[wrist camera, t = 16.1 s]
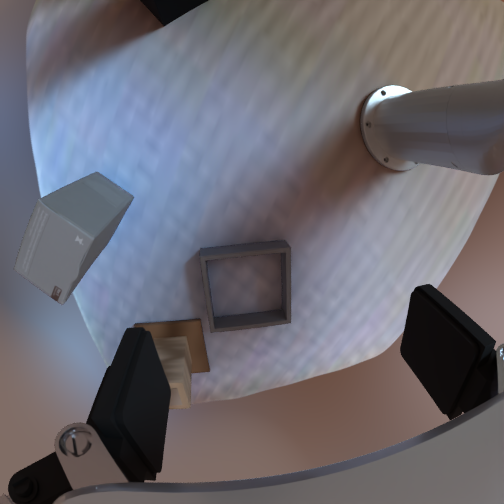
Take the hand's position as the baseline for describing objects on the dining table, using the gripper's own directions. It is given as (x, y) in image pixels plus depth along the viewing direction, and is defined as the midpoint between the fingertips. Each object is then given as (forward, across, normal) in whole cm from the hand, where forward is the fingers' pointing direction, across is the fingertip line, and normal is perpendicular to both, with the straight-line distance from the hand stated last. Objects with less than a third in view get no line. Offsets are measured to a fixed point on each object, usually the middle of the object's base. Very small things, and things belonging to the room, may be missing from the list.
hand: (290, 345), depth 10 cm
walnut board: (+29, +13, +22) cm, 38 cm away
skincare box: (+29, +18, 0) cm, 34 cm away
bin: (+29, +1, +12) cm, 32 cm away
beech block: (+28, +13, +22) cm, 38 cm away
